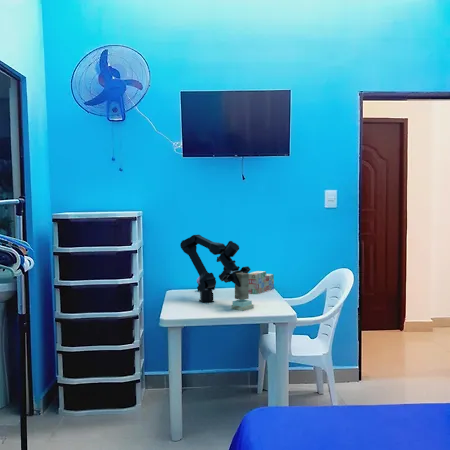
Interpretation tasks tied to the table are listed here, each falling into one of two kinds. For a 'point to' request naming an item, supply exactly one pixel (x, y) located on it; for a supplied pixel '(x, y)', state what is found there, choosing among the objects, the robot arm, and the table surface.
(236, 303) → the green slab
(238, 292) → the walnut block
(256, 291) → the stack of blocks
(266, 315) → the table surface
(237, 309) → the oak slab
